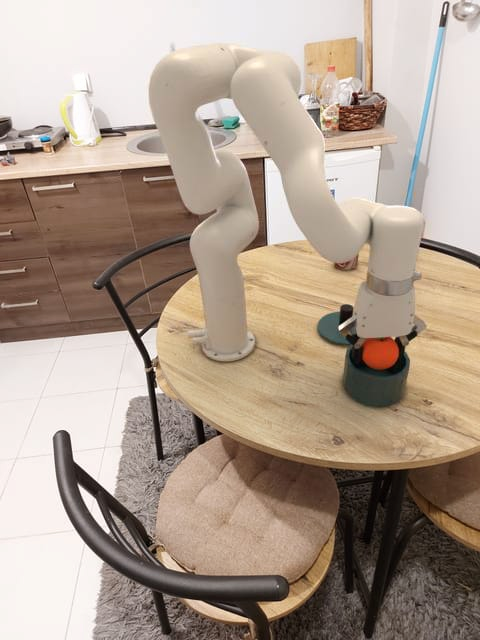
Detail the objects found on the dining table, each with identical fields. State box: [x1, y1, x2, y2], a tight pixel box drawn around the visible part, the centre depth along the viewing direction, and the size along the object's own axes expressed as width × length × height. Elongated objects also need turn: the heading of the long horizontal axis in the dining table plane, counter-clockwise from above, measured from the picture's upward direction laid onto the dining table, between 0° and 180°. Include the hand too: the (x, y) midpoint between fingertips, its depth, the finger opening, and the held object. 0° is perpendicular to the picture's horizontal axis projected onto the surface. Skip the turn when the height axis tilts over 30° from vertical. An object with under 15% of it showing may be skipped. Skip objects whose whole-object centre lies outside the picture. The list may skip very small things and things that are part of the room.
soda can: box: [333, 253, 360, 271], centre depth 126 cm, size 7×7×12 cm
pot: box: [342, 344, 411, 408], centre depth 85 cm, size 12×12×8 cm
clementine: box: [362, 337, 399, 370], centre depth 82 cm, size 8×7×7 cm
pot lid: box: [317, 303, 356, 346], centre depth 101 cm, size 13×13×7 cm
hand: (376, 358), depth 83 cm, fingers closed on clementine, 6 cm apart
